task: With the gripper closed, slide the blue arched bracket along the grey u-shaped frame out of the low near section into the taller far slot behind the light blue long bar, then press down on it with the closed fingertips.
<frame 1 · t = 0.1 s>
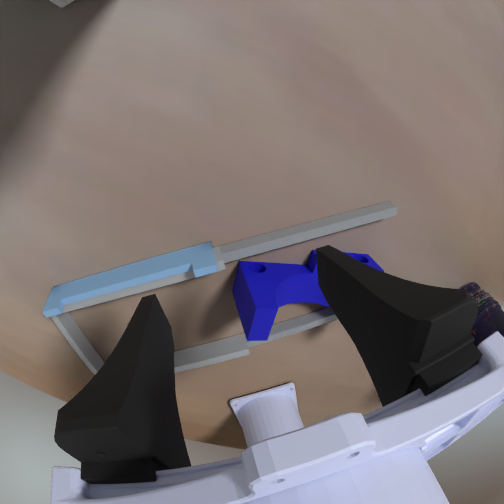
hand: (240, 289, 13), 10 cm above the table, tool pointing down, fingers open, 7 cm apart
light blue long bar: (125, 268, 23), resting on grey u-shaped frame
blue arched bracket: (302, 269, 27), resting in grey u-shaped frame
grey u-shaped frame: (233, 298, 26), on the table
storage jar: (456, 308, 38), on the table
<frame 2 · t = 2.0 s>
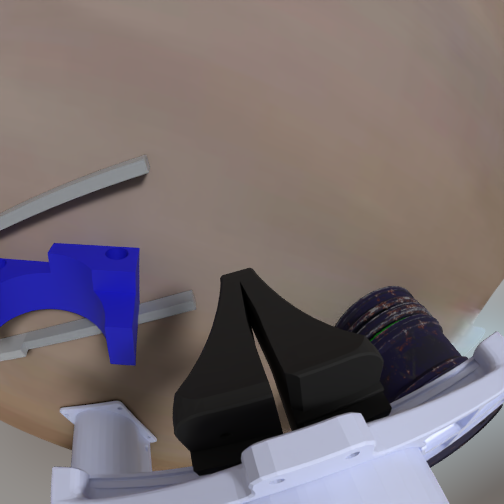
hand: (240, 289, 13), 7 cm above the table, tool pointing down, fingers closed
blue arched bracket: (59, 268, 19), resting in grey u-shaped frame
storage jar: (373, 324, 29), on the table
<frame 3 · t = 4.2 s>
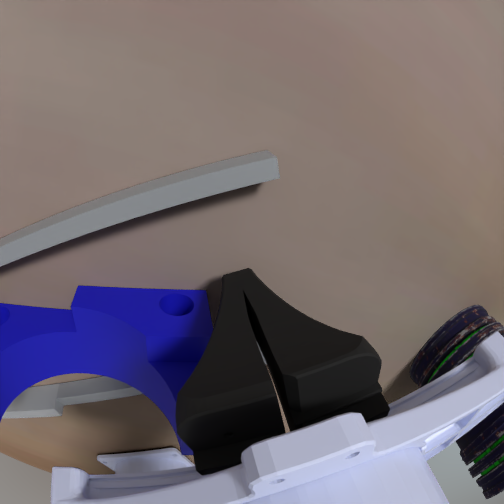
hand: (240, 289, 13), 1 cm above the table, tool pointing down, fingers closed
blue arched bracket: (85, 319, 14), resting in grey u-shaped frame, touching gripper
grey u-shaped frame: (17, 334, 13), on the table
storage jar: (448, 344, 24), on the table
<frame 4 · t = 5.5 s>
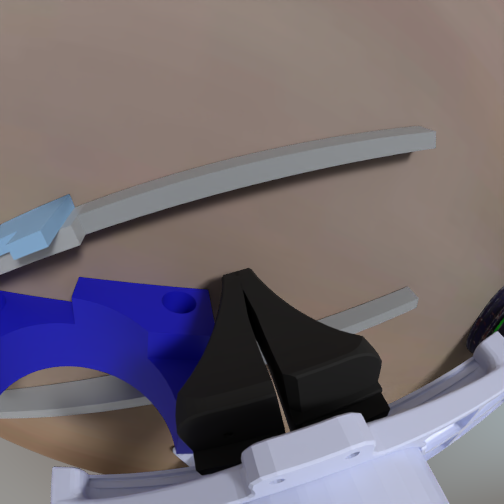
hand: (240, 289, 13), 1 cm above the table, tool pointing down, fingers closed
blue arched bracket: (83, 312, 14), resting in grey u-shaped frame, touching gripper
grey u-shaped frame: (132, 305, 14), on the table
storage jar: (495, 314, 25), on the table
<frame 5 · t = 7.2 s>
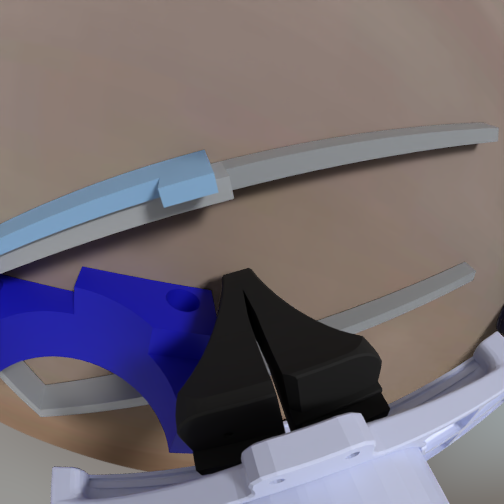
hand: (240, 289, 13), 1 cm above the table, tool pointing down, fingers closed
light blue long bar: (44, 211, 10), resting on grey u-shaped frame
blue arched bracket: (81, 302, 13), resting in grey u-shaped frame, touching gripper
grey u-shaped frame: (246, 273, 14), on the table
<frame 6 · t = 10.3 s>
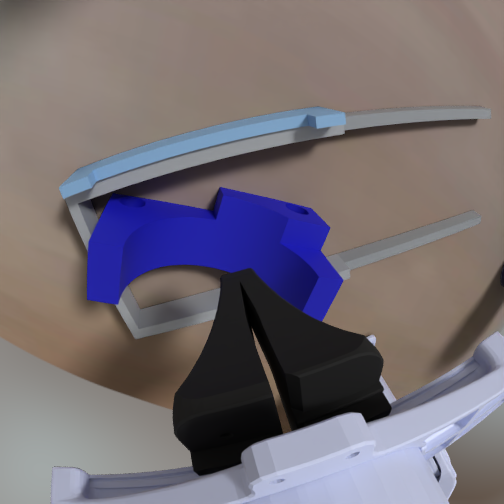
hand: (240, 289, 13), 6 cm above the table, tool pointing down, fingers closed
light blue long bar: (197, 135, 16), resting on grey u-shaped frame
blue arched bracket: (209, 219, 19), resting in grey u-shaped frame
grey u-shaped frame: (334, 196, 19), on the table
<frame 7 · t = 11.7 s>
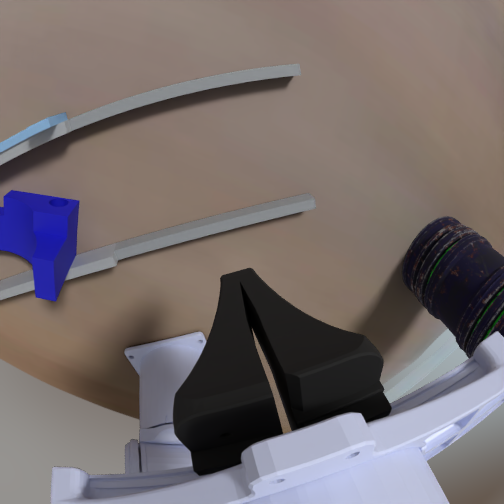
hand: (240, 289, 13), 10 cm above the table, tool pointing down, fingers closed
blue arched bracket: (13, 215, 19), resting in grey u-shaped frame
grey u-shaped frame: (95, 188, 19), on the table
storage jar: (433, 254, 31), on the table
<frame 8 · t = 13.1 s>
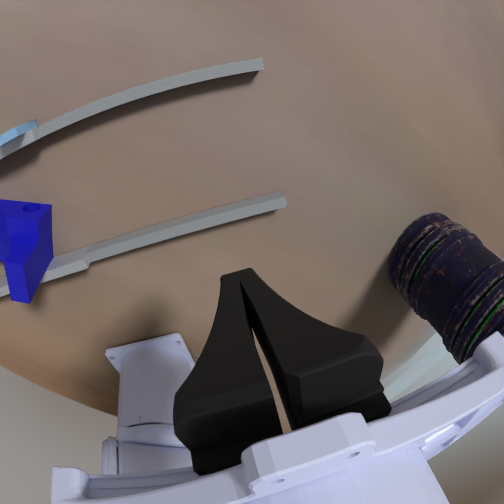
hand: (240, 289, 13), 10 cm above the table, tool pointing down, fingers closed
grey u-shaped frame: (66, 192, 19), on the table
storage jar: (421, 252, 30), on the table
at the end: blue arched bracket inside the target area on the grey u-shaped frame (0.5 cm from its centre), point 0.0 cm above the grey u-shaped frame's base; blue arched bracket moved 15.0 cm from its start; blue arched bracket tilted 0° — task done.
